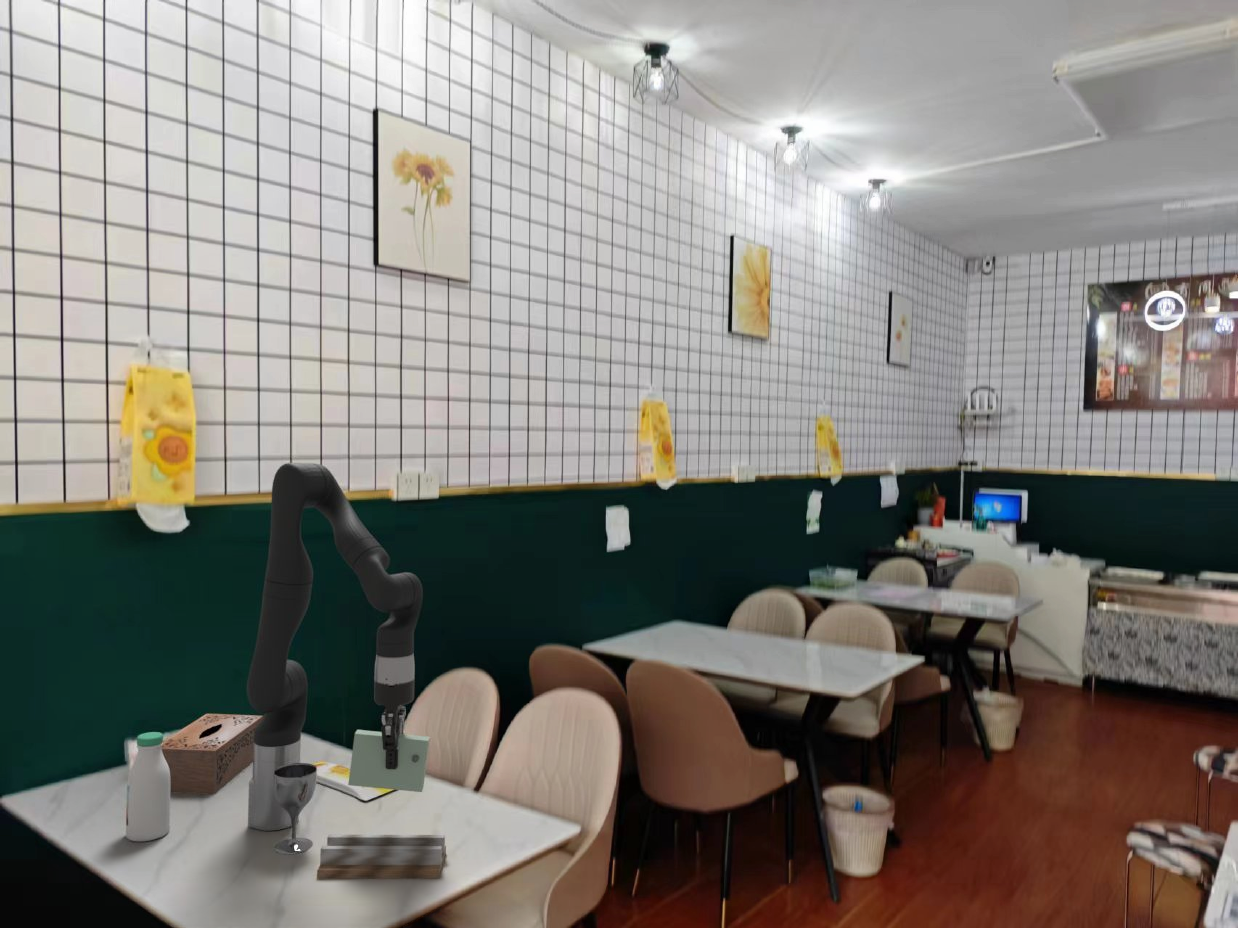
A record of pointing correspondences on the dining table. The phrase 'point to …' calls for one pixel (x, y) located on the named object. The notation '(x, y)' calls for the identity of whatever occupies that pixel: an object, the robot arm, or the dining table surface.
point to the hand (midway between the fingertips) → (392, 765)
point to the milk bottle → (148, 791)
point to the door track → (382, 856)
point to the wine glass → (294, 800)
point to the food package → (344, 781)
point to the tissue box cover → (209, 752)
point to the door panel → (372, 762)
